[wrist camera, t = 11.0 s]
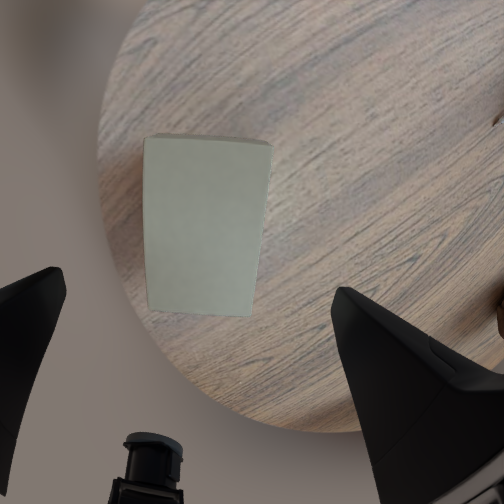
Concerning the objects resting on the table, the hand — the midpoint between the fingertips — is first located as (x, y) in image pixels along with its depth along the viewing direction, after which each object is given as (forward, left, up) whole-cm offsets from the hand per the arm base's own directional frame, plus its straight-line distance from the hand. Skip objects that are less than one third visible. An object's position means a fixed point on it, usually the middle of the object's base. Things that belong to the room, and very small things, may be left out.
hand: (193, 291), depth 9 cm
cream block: (0, 0, -6) cm, 6 cm away
